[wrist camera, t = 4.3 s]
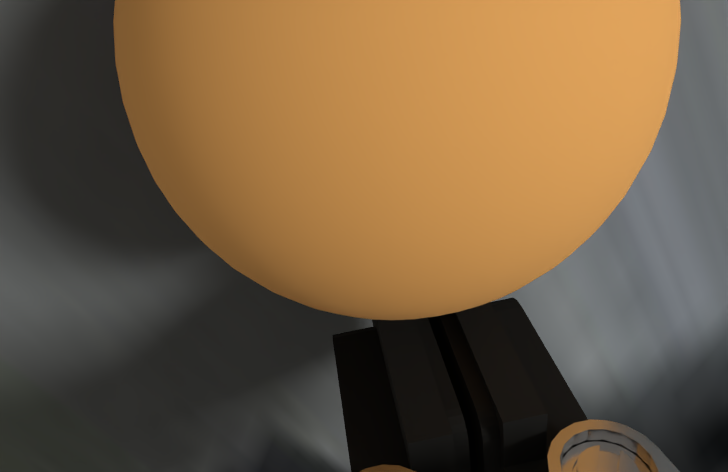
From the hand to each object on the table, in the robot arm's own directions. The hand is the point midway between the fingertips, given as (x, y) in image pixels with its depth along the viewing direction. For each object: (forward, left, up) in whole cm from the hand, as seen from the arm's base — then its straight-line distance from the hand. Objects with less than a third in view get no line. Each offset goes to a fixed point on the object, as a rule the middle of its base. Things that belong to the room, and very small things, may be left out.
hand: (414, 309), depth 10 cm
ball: (+1, -5, +1) cm, 5 cm away
